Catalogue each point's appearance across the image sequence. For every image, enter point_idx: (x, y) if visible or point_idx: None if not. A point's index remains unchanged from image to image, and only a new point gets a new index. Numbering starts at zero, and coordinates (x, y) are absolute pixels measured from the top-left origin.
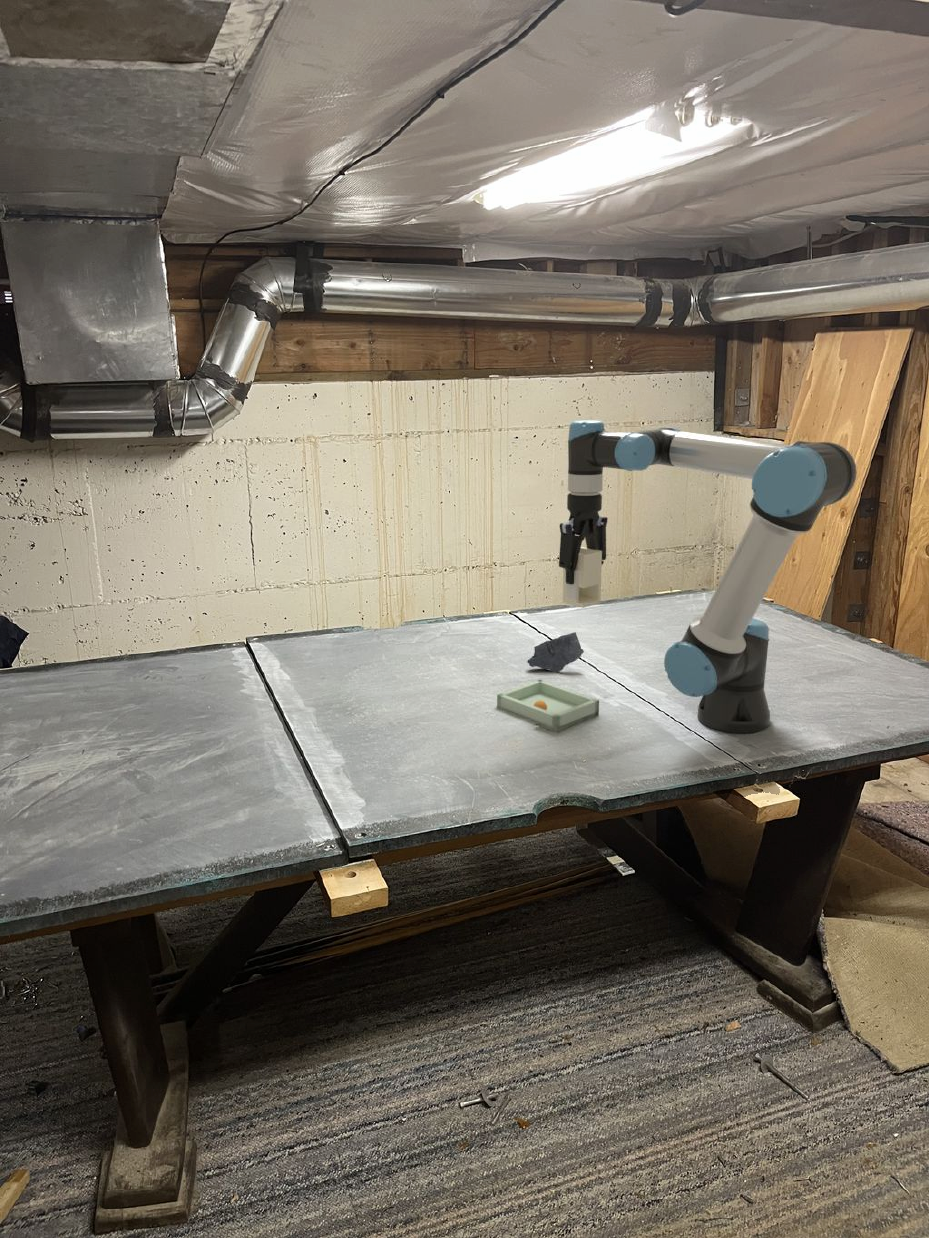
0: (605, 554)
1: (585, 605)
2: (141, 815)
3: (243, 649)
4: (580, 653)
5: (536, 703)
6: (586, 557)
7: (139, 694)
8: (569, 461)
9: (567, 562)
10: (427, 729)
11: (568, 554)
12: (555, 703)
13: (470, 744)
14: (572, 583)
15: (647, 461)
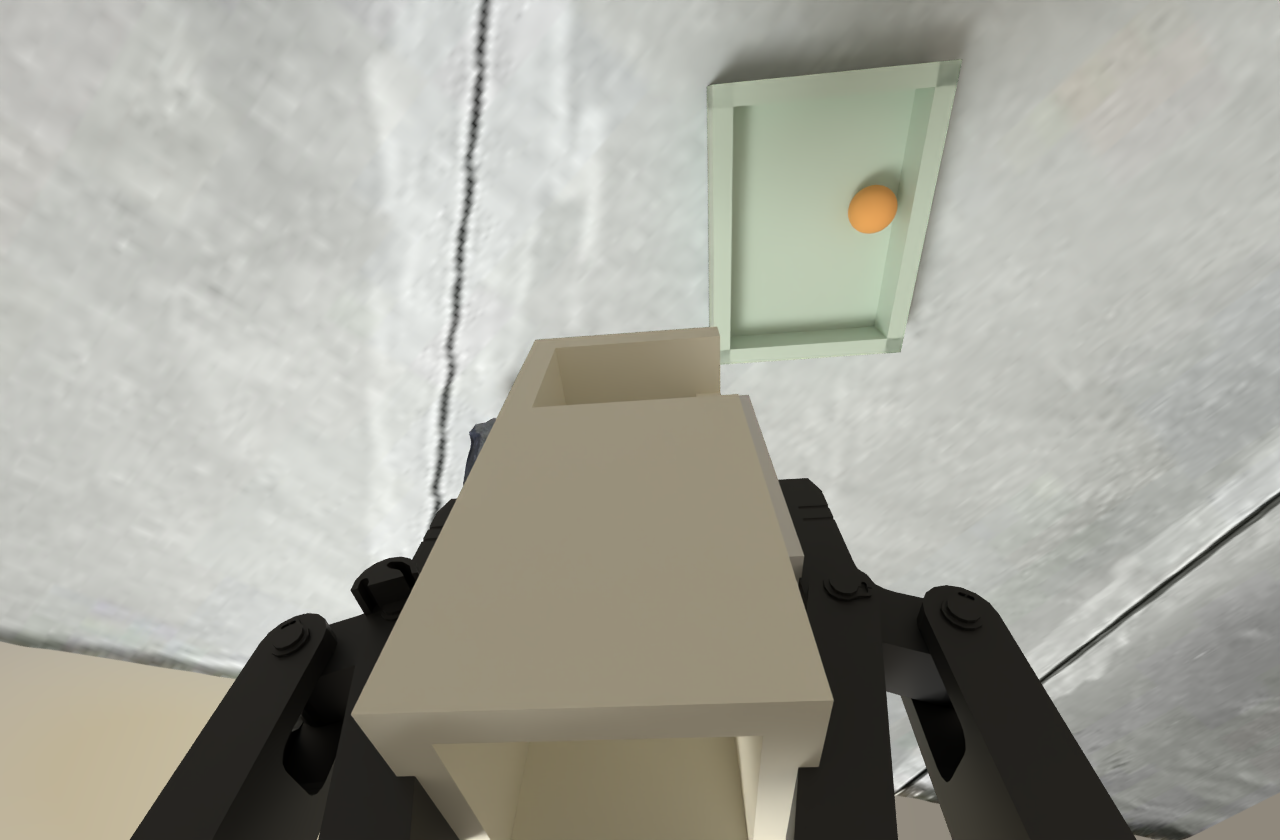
0: (251, 676)
1: (693, 331)
2: None
3: (926, 778)
4: (487, 426)
5: (894, 214)
6: (758, 650)
7: (1194, 731)
8: None
9: (1026, 663)
10: (1112, 342)
11: (1090, 794)
12: (762, 240)
13: (1162, 182)
14: (788, 483)
15: None
